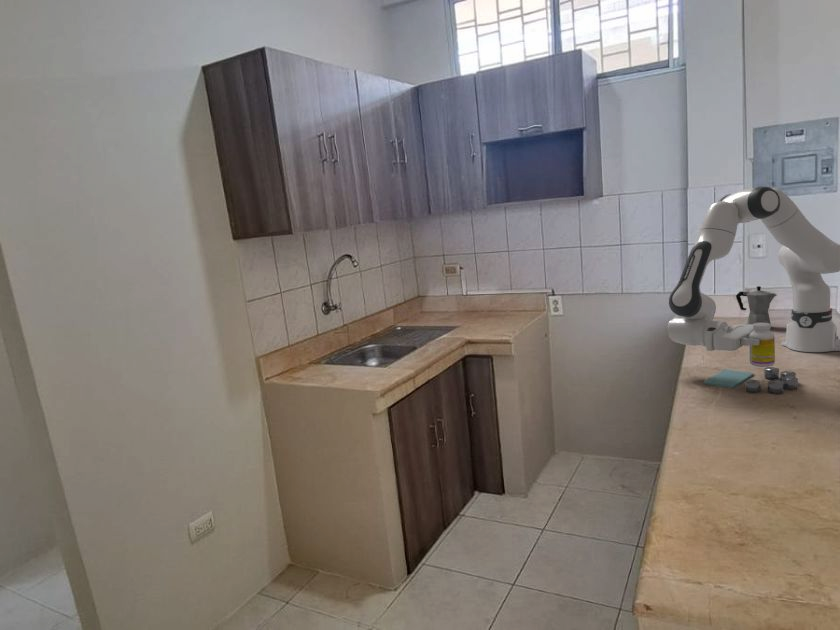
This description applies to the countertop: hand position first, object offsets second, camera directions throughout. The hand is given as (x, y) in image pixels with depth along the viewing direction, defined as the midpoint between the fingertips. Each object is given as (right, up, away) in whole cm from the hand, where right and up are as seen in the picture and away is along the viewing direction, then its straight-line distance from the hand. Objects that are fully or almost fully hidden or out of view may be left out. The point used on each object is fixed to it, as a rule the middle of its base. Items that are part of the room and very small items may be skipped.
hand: (765, 338), depth 173 cm
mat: (-5, -14, +11) cm, 18 cm away
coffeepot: (+38, +2, +69) cm, 79 cm away
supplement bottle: (+1, -8, +2) cm, 9 cm away
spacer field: (+3, -15, 0) cm, 15 cm away
